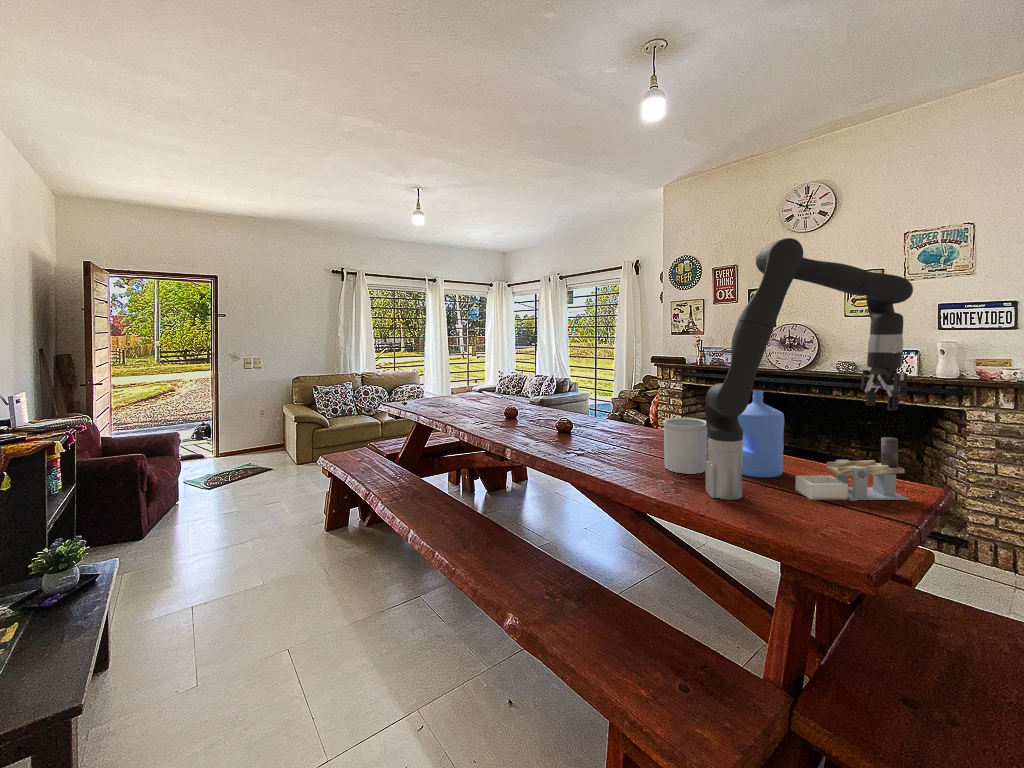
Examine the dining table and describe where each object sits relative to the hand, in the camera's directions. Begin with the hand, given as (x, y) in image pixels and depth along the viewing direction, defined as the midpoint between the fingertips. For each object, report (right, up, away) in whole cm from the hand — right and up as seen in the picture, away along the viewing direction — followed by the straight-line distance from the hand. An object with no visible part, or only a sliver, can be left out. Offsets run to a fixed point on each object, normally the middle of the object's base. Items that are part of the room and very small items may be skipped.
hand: (881, 407), depth 125 cm
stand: (-2, -25, +2) cm, 25 cm away
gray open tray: (-15, -26, +3) cm, 30 cm away
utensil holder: (-43, -24, +32) cm, 59 cm away
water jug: (-21, -24, +27) cm, 41 cm away
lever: (-4, -18, +1) cm, 19 cm away
